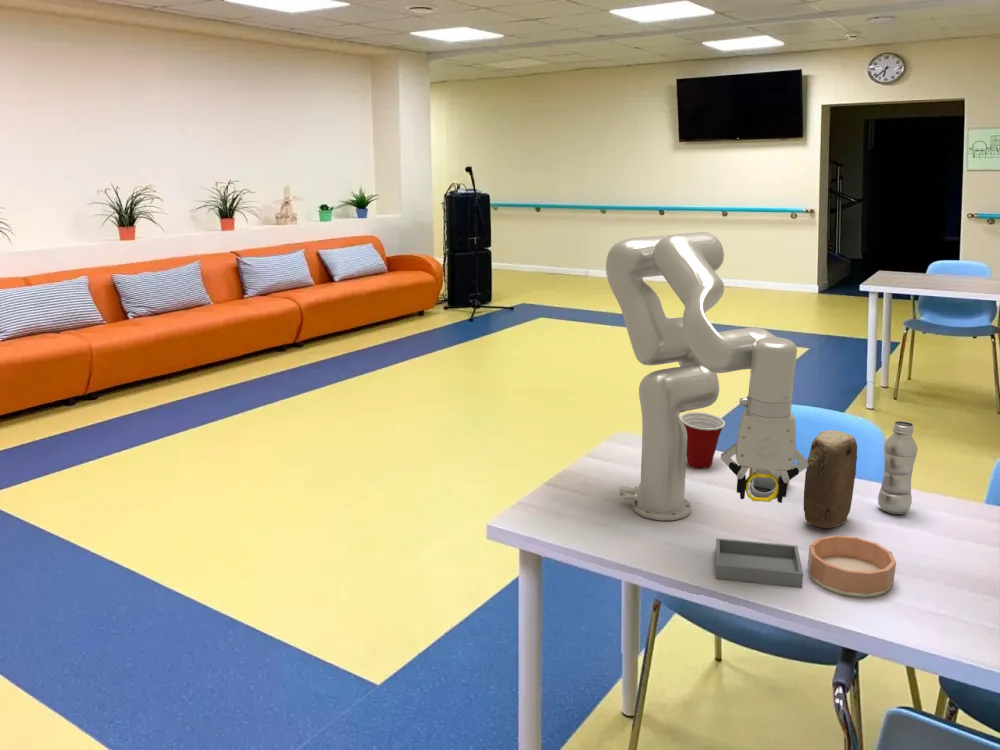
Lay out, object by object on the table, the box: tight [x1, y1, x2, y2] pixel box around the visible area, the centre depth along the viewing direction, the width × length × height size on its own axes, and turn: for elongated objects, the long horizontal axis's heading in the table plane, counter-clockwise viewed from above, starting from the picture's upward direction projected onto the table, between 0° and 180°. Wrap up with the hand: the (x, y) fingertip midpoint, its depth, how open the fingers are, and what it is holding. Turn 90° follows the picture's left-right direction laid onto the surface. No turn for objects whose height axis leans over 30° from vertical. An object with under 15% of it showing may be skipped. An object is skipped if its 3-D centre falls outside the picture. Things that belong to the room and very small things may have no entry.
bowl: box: [807, 534, 897, 598], centre depth 161 cm, size 14×14×5 cm
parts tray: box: [715, 537, 804, 588], centre depth 165 cm, size 15×11×3 cm
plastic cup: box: [679, 411, 726, 469], centre depth 213 cm, size 11×11×12 cm
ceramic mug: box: [748, 468, 790, 498], centre depth 199 cm, size 11×8×8 cm
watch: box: [745, 469, 779, 503], centre depth 161 cm, size 6×3×6 cm, turn 82°
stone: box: [803, 429, 858, 529], centre depth 180 cm, size 12×7×20 cm, turn 133°
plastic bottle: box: [877, 420, 919, 515], centre depth 185 cm, size 6×7×20 cm
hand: (760, 497), depth 161 cm, fingers closed on watch, 6 cm apart
